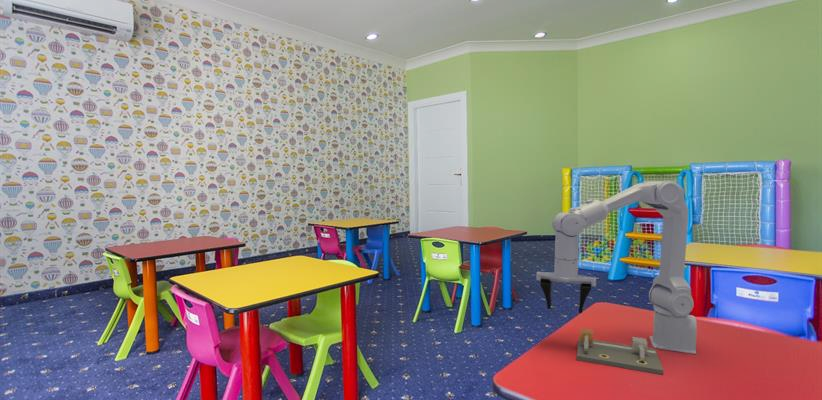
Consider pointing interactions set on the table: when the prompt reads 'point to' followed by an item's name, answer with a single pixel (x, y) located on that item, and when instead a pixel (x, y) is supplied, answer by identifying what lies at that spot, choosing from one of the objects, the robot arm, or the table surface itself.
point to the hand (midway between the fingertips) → (564, 309)
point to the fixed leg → (640, 346)
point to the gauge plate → (619, 356)
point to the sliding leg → (586, 338)
